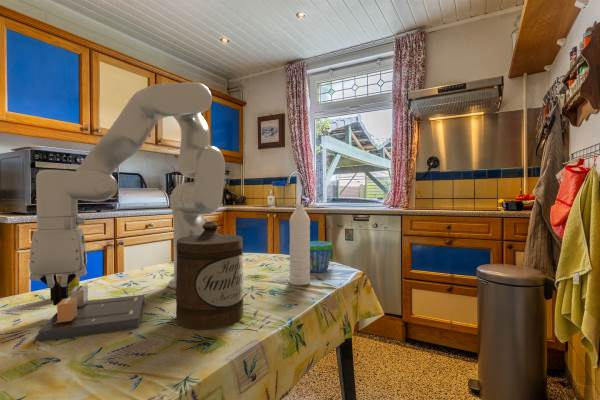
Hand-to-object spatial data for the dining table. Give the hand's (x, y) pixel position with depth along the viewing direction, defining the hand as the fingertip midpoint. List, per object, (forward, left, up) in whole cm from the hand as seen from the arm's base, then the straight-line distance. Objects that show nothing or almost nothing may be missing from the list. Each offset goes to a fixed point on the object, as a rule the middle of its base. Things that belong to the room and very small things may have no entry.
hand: (59, 303), depth 74 cm
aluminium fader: (-4, 0, -1) cm, 4 cm away
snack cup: (-73, -17, -3) cm, 75 cm away
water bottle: (-62, -4, -3) cm, 63 cm away
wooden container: (-32, +13, -3) cm, 35 cm away
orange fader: (-4, +10, -1) cm, 10 cm away
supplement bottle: (+3, -16, -3) cm, 16 cm away
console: (-9, +6, -3) cm, 11 cm away
